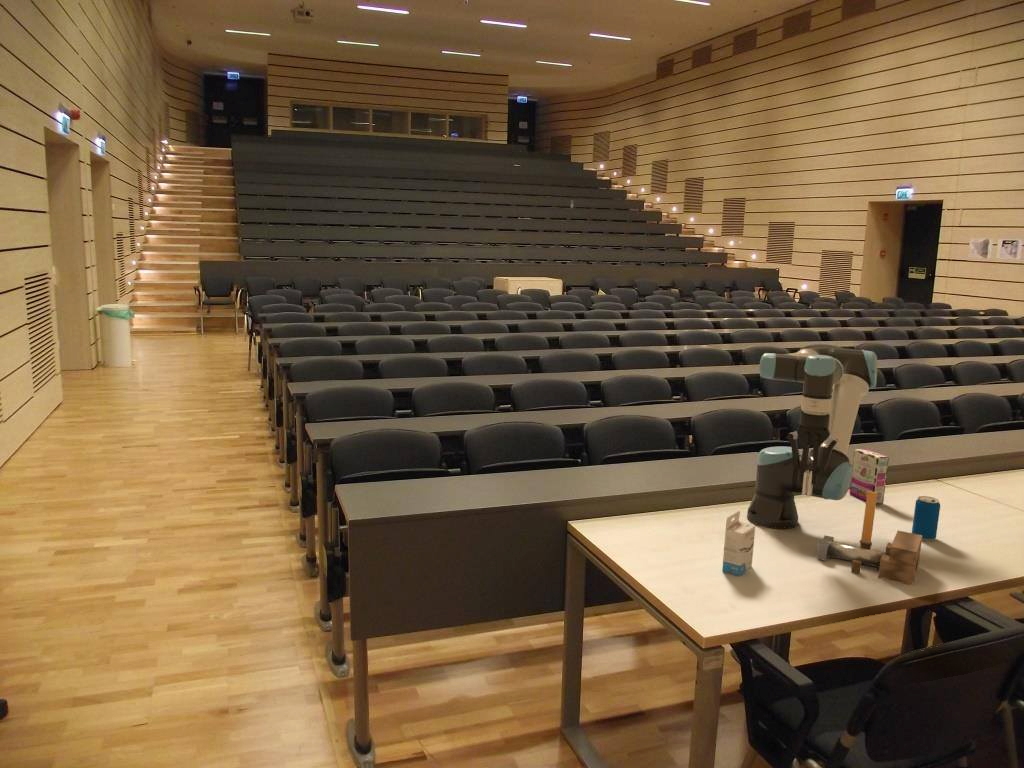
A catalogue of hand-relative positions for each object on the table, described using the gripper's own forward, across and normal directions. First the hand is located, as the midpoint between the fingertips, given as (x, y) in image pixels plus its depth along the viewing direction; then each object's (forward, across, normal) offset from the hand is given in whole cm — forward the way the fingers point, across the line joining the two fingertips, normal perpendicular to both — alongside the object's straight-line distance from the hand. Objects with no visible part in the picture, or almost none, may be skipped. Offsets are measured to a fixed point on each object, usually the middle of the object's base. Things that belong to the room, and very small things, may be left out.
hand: (806, 494), depth 217 cm
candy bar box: (+17, +8, +60) cm, 63 cm away
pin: (+16, +15, 0) cm, 22 cm away
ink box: (+17, -11, -24) cm, 31 cm away
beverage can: (+17, +28, +32) cm, 46 cm away
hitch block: (+16, +22, 0) cm, 27 cm away
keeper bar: (+6, +15, +7) cm, 18 cm away
